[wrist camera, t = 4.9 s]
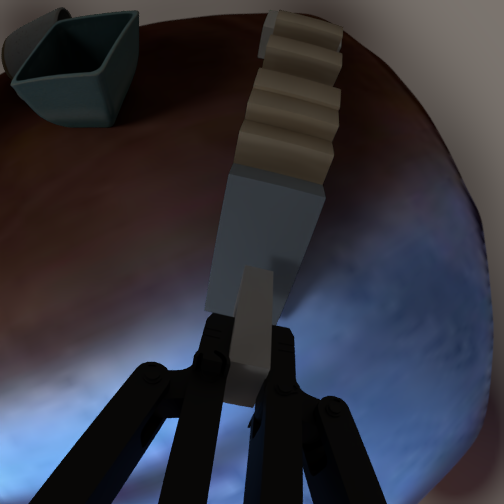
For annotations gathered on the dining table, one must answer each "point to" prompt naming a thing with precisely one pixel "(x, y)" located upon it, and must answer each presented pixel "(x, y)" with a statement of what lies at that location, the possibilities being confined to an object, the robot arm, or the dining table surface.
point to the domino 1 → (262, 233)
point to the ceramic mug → (28, 40)
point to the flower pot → (81, 69)
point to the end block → (268, 30)
